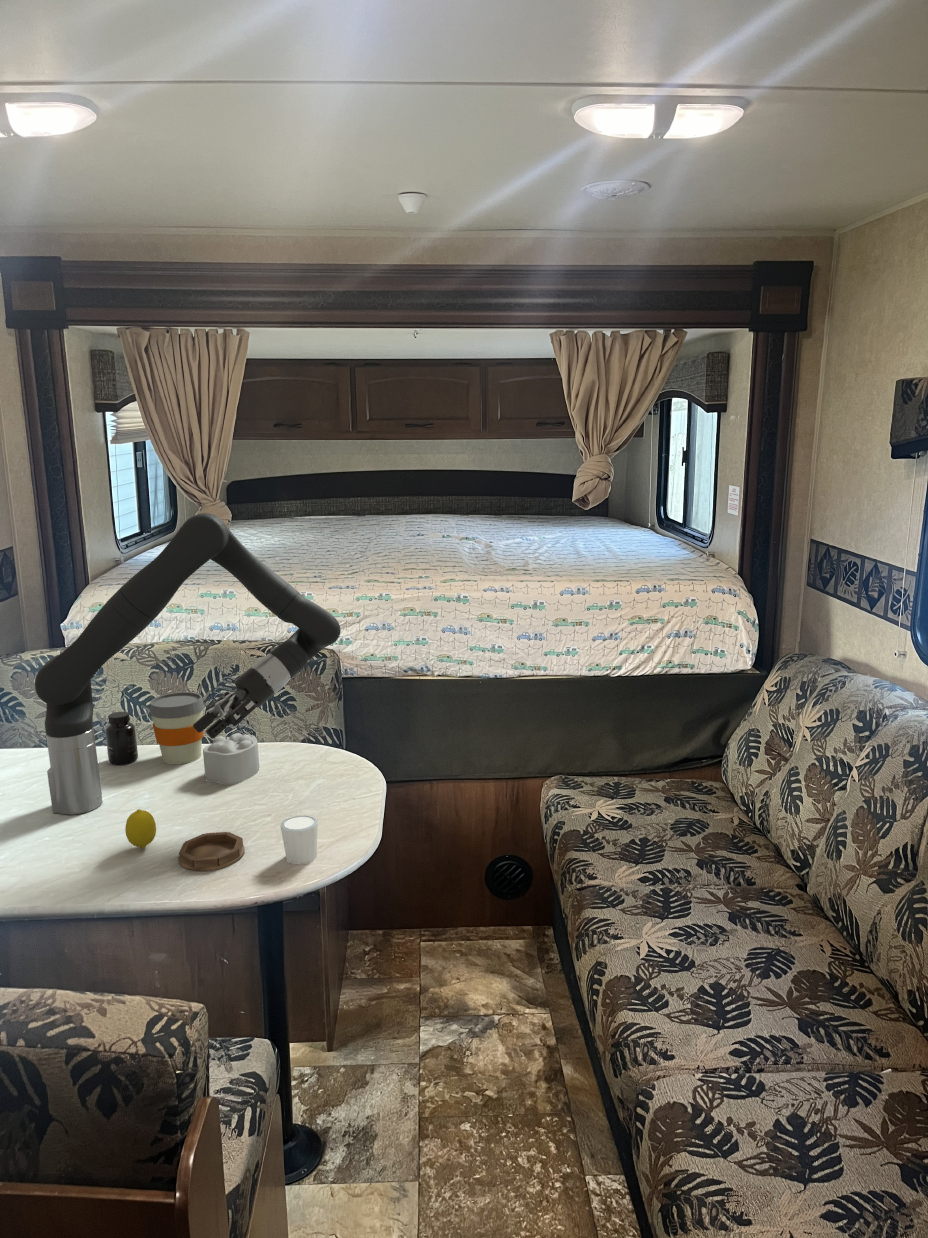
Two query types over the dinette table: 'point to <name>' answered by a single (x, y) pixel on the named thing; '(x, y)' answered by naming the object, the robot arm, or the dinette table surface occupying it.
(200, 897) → the dinette table surface
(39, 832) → the dinette table surface
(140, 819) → the lemon
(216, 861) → the ring dish
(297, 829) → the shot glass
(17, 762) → the dinette table surface
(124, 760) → the supplement bottle
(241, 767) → the lumpy-topped squat cylinder
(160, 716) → the reusable coffee cup
